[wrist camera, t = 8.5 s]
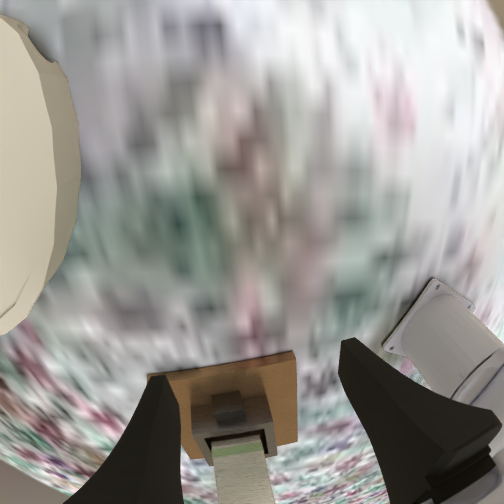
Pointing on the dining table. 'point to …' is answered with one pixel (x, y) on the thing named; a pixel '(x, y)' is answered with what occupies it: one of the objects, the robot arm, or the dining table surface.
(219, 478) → the grayish brown rectangular block
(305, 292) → the dining table surface
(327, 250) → the dining table surface
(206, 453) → the stand base
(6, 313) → the ashtray
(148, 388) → the robot arm
